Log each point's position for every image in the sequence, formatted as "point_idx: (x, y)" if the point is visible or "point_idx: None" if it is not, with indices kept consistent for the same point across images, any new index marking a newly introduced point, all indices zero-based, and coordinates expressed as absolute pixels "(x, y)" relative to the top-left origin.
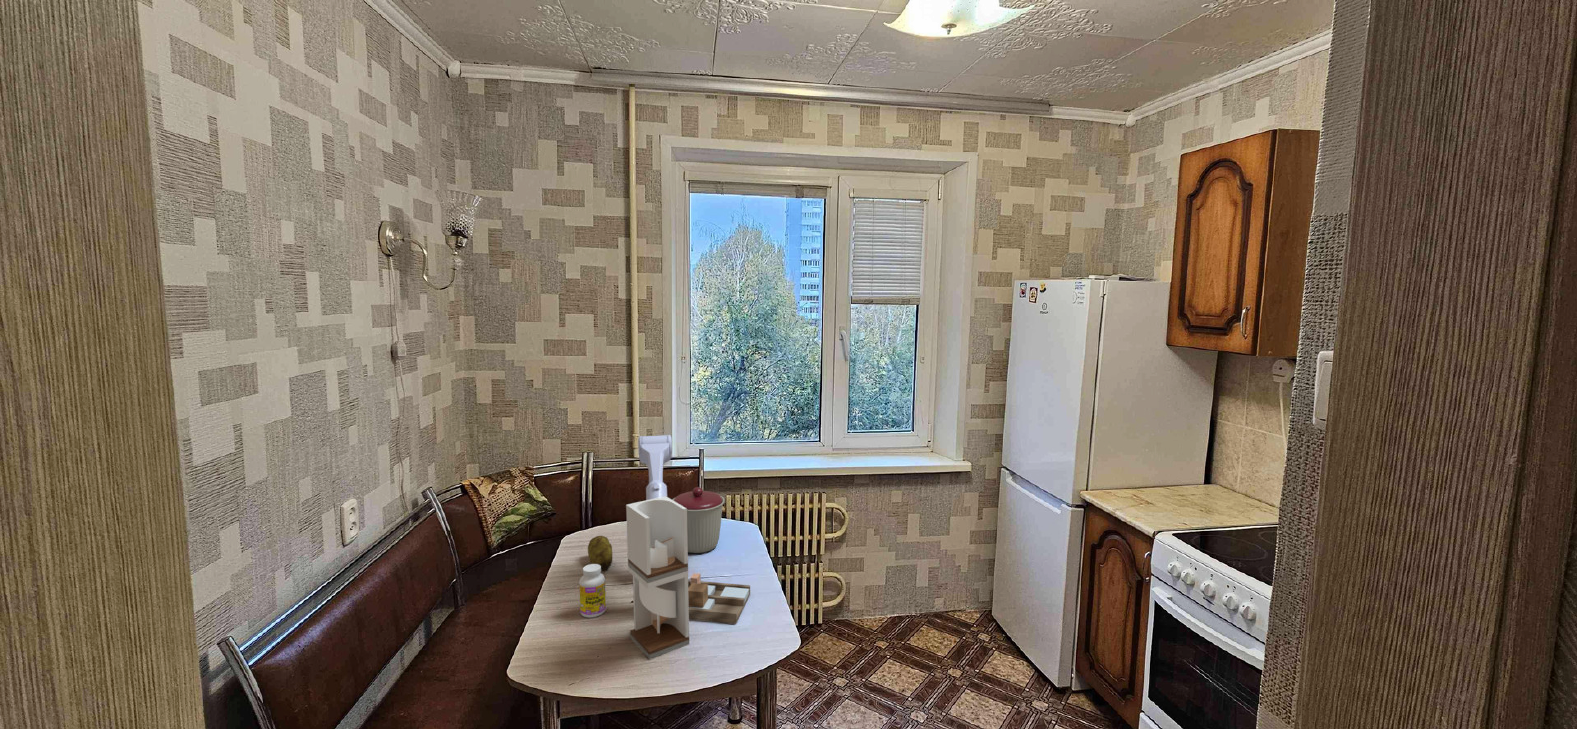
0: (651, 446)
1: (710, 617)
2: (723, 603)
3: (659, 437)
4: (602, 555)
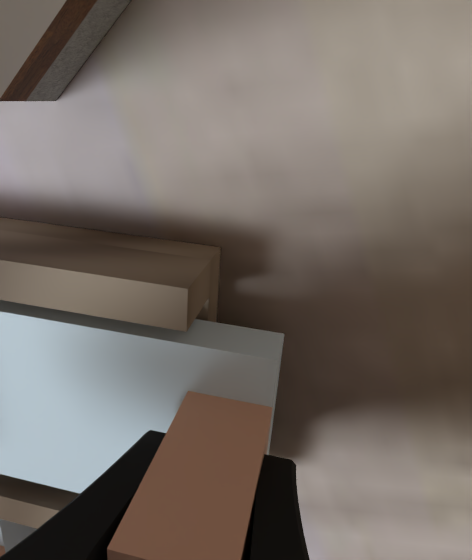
0: None
1: None
2: None
3: None
4: None
